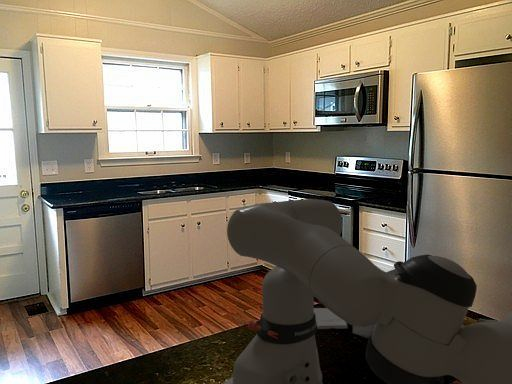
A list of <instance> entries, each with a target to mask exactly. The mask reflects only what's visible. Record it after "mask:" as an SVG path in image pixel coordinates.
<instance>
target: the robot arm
mask: <svg viewBox="0 0 512 384" xmlns="http://www.w3.org/2000/svg"><path fill="white" fill-rule="evenodd" d="M342 230H343V218H342V214H341V211H340V209H339V208H338V207H337V205H335V203H333V202H332V201H330V200H324V199H315V198H303V199H293V200H284V201H283V200H282V201H274V202H262V203H255V204H252V205H249V206H248V205H247V206H244V207H242V208H238V209H235V210H234V211H233V213H232V214H231V216H230V218H229V219H228V223H227V227H226V236H227V240H228V242H229V244H230V247H231V248H232V250H233V251H234V252H235V253H236V254H238V255H239V256H241V257H248V258H252V259H256V260H260V261H263V262H266V263H267V264H270V265H273V266H274V267H273V268H272V269H271V270H269V271H268V272H267V273H266V274H265V276H264V278H263V280H262V282H261V295H262V296H261V299H262V301H261V302H262V303H261V304H262V306H261V307H262V313H261V315H260V317H259V322H256V321H255V320H253V319H252V320H249V321H248V323H247V329H248V330H250V331H253V332H254V333H256V334H255V336H254V337H253V338H252V340H250V342H249V343H248V345H246V347H245V349H244V350H243V351H242V352H241V353H240V354H239V356H238V357H237V358H236V359H235V361H234V365H233V372H232V376H231V377H230V378H228V379H227V380H226V381H224V382H223V383H222V384H324V383H323V373H322V370H321V366H320V358H319V352H318V351H319V350H318V347H317V341H316V337H315V336H316V335H315V334H316V332H317V324H316V315H315V313H314V308H315V307H314V305H315V304H314V303H315V301H314V299H315V298H316V299H317V300H318V302H319V303H321V304H322V305H323V306H324V308H327V309H329V310H330V311H331V312H332V313H334V314H335V315H336V316H338V317H339V318H341V319H342V320H344V321H345V322H346V324H349V325H351V326H352V327H353V326H357V327H367V326H370V325H373V324H375V323H377V324H376V326H375V329H374V332H373V335H371V336H370V337H369V339H367V340H368V341H367V344H366V349H365V355H364V356H365V360H366V363H367V364H368V366H369V368H370V370H371V371H372V372H373V373H374V375H376V376H377V378H379V379H380V380H381V381H383V382H384V383H385V384H444V381H445V380H444V376H450V377H451V376H452V377H453V378H455V379H457V380H458V381H460V382H461V383H462V384H512V310H511V311H510V312H508V314H507V315H505V316H503V317H502V318H501V319H500V320H498V319H497V320H496V319H484V318H478V319H476V322H475V323H470V324H467V325H465V324H463V323H464V321H465V318H466V316H467V313H468V310H469V308H470V307H473V304H474V301H475V298H476V293H477V287H478V286H477V283H476V281H475V279H474V278H473V276H472V275H470V274H469V273H468V272H467V271H466V270H465V268H463V266H462V265H460V264H458V263H457V262H455V261H453V260H452V259H449V258H447V257H443V256H440V255H432V254H423V255H422V254H420V255H417V256H412V257H410V258H409V259H407V260H405V261H399V260H398V261H396V262H395V263H393V267H394V268H393V269H396V270H397V271H398V272H399V273H397V274H390V273H387V272H388V271H384V270H382V269H381V268H379V267H378V266H376V264H374V263H373V262H372V261H371V260H370V259H369V258H368V257H366V255H364V254H363V252H361V251H360V250H359V249H357V248H356V247H355V246H353V244H351V243H350V242H349V241H348V240H346V239H344V238H343V237H342V236H341V234H342V232H343V231H342Z"/></svg>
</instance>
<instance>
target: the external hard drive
mask: <svg viewBox="0 0 512 384" xmlns="http://www.w3.org/2000/svg"><path fill="white" fill-rule="evenodd" d="M314 313H315V315H316V329H317V330H331V329H336V330H337V329H342V330H343V329H348V323H347V322H345V321H344V320H342V319H341V318H339V317H338V316H336V315H335V314H334V313H332V312H331V311H330V310H329V309H327V308H326V307H323V308H322V307H316V308H315V307H314Z"/></svg>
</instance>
